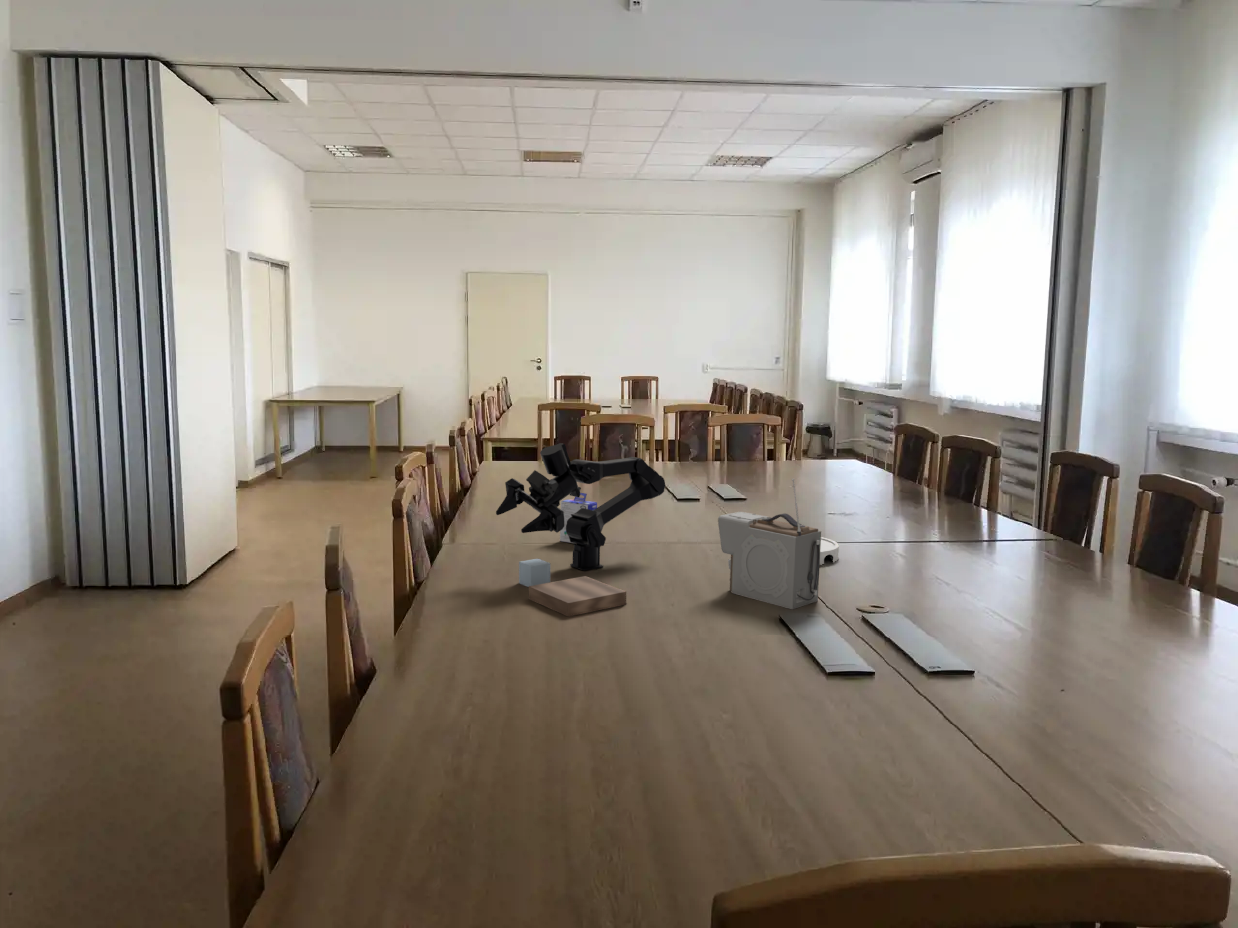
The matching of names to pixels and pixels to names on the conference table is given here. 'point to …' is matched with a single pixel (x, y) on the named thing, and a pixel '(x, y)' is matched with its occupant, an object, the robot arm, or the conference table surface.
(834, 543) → the ashtray
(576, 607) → the walnut base
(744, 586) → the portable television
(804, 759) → the conference table surface
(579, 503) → the ink cartridge box
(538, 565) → the slate cube
